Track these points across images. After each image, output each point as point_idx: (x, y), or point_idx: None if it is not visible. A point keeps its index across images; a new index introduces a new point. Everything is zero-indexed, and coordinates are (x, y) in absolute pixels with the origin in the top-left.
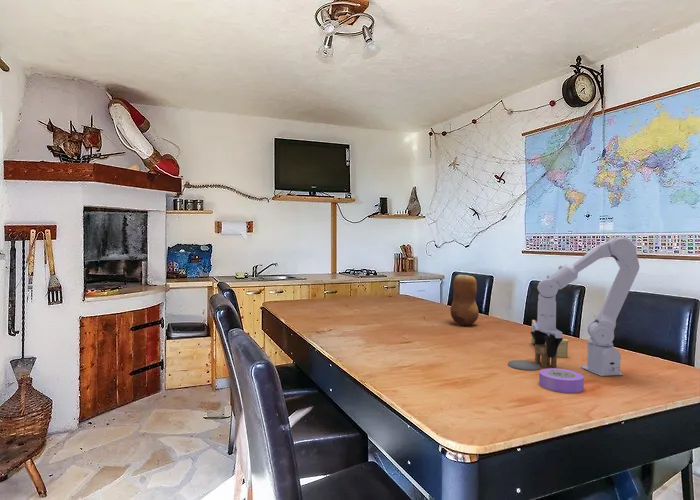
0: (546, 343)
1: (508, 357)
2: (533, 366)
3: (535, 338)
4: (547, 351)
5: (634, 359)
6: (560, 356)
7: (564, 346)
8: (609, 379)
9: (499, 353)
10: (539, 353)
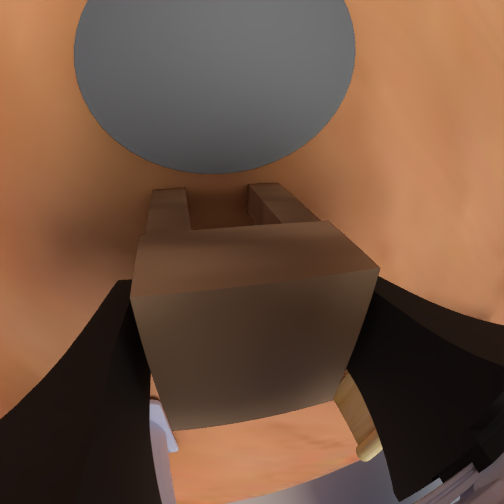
0: (90, 402)
1: (439, 92)
2: (137, 89)
3: (447, 338)
4: (120, 312)
5: (252, 486)
6: (347, 377)
7: (360, 425)
8: (6, 398)
9: (491, 108)
10: (230, 229)
